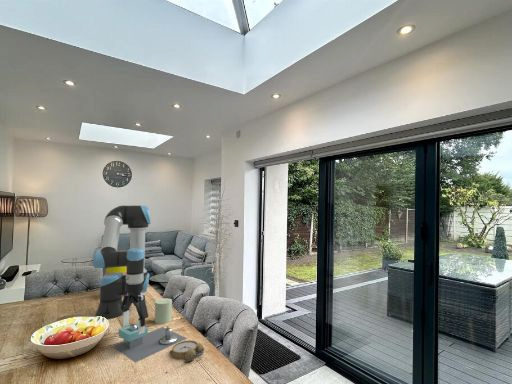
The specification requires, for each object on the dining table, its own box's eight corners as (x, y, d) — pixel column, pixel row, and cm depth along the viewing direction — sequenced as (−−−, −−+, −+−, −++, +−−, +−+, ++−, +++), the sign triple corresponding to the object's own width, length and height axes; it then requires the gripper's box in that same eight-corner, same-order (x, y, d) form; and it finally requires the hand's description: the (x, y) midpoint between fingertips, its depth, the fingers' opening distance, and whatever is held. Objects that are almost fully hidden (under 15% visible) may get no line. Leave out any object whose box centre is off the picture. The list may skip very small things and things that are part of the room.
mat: (112, 348, 124) (112, 346, 124) (162, 328, 145) (162, 327, 145) (135, 364, 112) (135, 362, 112) (186, 340, 132) (187, 338, 132)
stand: (123, 344, 126) (123, 325, 126) (135, 339, 131) (136, 321, 131) (129, 348, 122) (130, 329, 123) (142, 343, 127) (143, 324, 128)
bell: (155, 341, 129) (156, 327, 130) (170, 335, 136) (170, 321, 136) (166, 346, 124) (166, 332, 125) (180, 340, 131) (180, 326, 131)
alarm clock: (183, 338, 128) (209, 340, 121) (185, 350, 127) (210, 352, 121) (165, 349, 118) (192, 352, 111) (166, 362, 117) (193, 365, 111)
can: (166, 326, 147) (167, 303, 148) (151, 324, 149) (151, 302, 150) (174, 319, 156) (175, 298, 157) (160, 318, 158) (160, 296, 159)
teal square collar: (118, 336, 126) (118, 329, 126) (137, 329, 133) (137, 322, 133) (128, 342, 120) (128, 335, 121) (147, 334, 128) (147, 327, 128)
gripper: (113, 279, 133) (112, 325, 131) (141, 288, 117) (140, 340, 116) (128, 277, 139) (127, 320, 137) (157, 285, 123) (156, 333, 122)
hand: (133, 329), depth 127 cm, fingers open, 13 cm apart
